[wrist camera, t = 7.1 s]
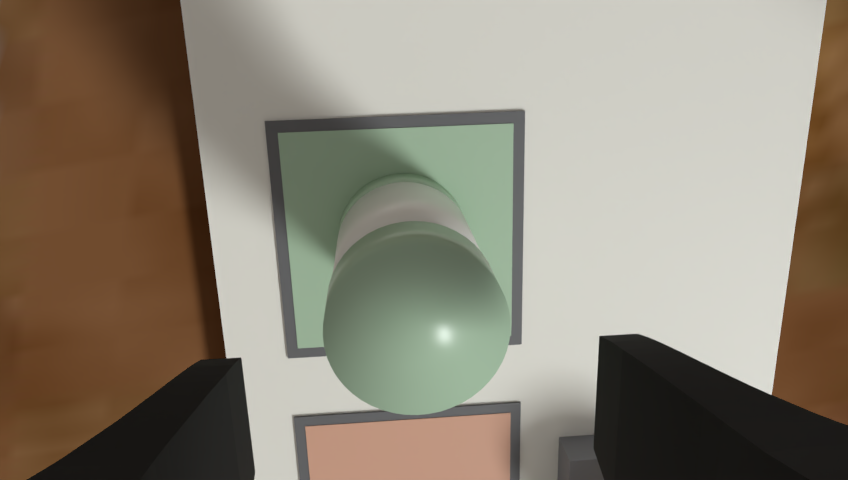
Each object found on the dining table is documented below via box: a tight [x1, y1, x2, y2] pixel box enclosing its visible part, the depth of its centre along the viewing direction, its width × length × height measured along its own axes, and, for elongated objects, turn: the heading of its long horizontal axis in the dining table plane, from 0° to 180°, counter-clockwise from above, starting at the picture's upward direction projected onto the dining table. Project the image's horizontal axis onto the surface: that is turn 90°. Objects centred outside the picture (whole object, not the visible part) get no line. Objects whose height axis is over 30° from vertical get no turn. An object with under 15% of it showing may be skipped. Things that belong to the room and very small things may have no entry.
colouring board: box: [180, 0, 827, 480], centre depth 20 cm, size 16×20×2 cm
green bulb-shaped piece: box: [323, 173, 511, 415], centre depth 16 cm, size 4×4×6 cm
